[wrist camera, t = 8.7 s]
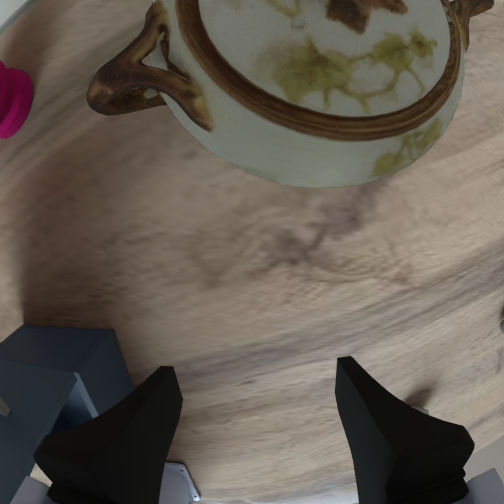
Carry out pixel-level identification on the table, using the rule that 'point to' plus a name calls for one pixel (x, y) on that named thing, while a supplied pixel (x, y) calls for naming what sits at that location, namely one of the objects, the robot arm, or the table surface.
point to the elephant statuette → (502, 326)
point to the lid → (26, 417)
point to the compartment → (74, 367)
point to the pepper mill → (13, 99)
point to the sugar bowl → (299, 81)
